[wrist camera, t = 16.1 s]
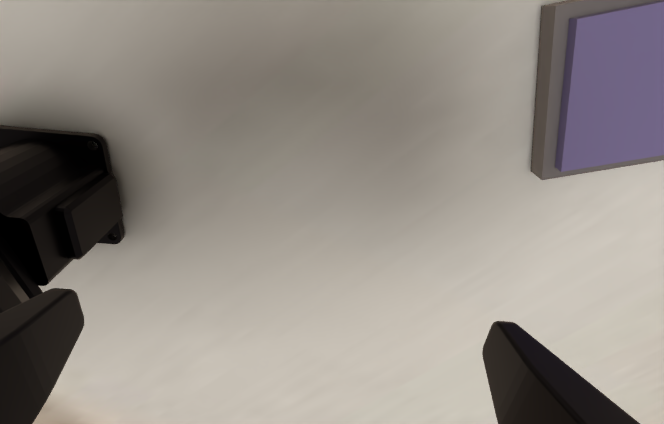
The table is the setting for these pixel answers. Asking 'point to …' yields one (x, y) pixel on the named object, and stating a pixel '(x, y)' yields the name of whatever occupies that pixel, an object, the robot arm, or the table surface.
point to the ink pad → (599, 86)
